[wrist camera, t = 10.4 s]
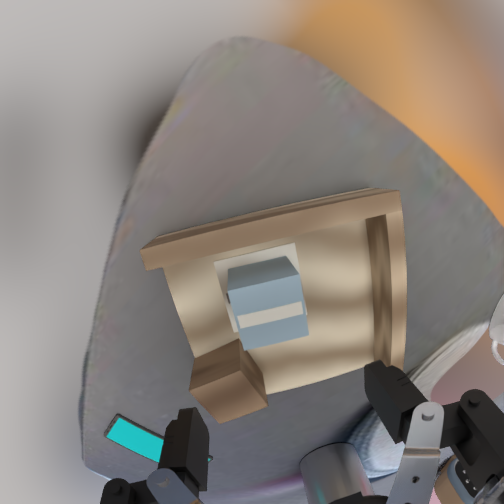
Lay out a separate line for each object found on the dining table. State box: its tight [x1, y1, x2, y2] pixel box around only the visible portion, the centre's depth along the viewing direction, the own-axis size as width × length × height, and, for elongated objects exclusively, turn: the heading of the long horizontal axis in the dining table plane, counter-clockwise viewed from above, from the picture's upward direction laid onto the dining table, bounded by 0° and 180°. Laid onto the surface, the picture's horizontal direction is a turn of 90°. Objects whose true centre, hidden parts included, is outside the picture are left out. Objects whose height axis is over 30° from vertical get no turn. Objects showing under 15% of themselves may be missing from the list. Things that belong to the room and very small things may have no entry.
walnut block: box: [189, 338, 268, 424], centre depth 24 cm, size 5×5×5 cm
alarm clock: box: [434, 455, 478, 504], centre depth 33 cm, size 21×10×22 cm, turn 90°
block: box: [227, 256, 309, 351], centre depth 22 cm, size 5×5×5 cm
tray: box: [140, 188, 407, 395], centre depth 24 cm, size 19×20×5 cm
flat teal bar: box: [104, 414, 213, 463], centre depth 31 cm, size 7×1×15 cm
